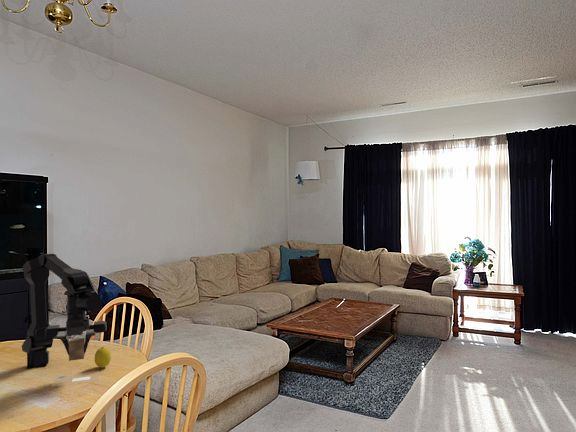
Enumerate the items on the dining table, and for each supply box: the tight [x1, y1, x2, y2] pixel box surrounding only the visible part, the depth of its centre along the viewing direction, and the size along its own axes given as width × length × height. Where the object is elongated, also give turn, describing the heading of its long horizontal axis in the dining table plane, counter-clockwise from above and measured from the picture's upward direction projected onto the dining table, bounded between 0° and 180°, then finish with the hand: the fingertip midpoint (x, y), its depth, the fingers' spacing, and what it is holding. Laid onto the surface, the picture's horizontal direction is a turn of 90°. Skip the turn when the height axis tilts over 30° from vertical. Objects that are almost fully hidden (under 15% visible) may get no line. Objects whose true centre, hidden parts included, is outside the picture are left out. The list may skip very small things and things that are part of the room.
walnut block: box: [68, 337, 86, 362], centre depth 148 cm, size 4×4×6 cm
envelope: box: [51, 370, 100, 388], centre depth 148 cm, size 14×10×1 cm
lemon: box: [94, 346, 112, 369], centre depth 159 cm, size 6×6×8 cm
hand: (76, 353), depth 148 cm, fingers closed on walnut block, 4 cm apart
